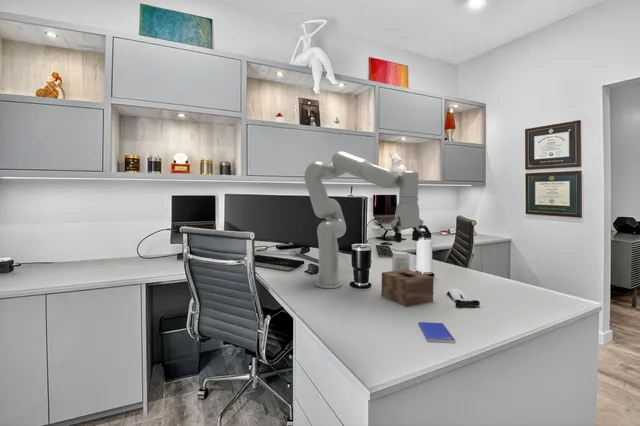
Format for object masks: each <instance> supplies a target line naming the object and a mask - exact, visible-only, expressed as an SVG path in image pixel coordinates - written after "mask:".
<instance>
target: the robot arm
mask: <svg viewBox="0 0 640 426" xmlns="http://www.w3.org/2000/svg"><path fill="white" fill-rule="evenodd" d="M346 173H347V174H349V175H352V176H355V178H359V179H361V180H364V181H366V182H368V183H371V184H373V185H376V186H378V187H381V188H383V189H391V190H392V189H394V190H395V189H399V190H398V191H399V193H398V195H399V197H398V203H397V204H396V208H395V215H394V219H393V220H392V221H390V226H391V229H392V230H393V233H394V242H395V243H402V231H403V229H412V235H411V237H412V238H411V240H412V241H415V242H419V240H420V232H421V229H422V227H423V225H424V220H423V219H421V218H420V208H419V203H418V202H419V182H420V181H419V177H420V176H419V175H420V174H419V172H418V171H416V170H404V171H397V170H391V169H387V168H384V167H382V166H378V165H376V164H373V163H371V162H370V161H369V160H368V159H366V158H363V157H359V156H357V155H354V154H352V153H350V152H347V151H343V150H339V151H336V152H334V153H333V155H332V156H331V161H330V162H327V161H323V160H322V161H321V160H317V161H316V160H315V161H312V162H310V164H308V166H307V167H306V169H305V171H304V183H305V187H306V188H307V192H308V194H309V195H308V196H309V199H310V203H311V206H312V209H313V212H314V214H315V216H316V217H317V218H320V219H325V220H323V221H321V222H320V223H319V224H318V226H317V229H316V235H317V240H318V274H317V275H316V276H317V278H318V280H317V281H315V286H316V287H318V288H320V289H337V288H340V287H342V285H343V284H342V282H341V280H339V260H340V259H339V256H340V255H339V244H338V238H339V239H340V238H341V237H343V236H344V235H345V233H346V231H347V225H346V221H345V217H344V215H343V214H344V213H343V212H342V211H343V210H342V207H341V205H340V203H339V202H338V201H337V199H335V198H330V197H329V196H328V192H327V189H326V186H325V185H324V183H323V182H322V180H334V179H335V178H338V177H339V176H342V175H344V174H346Z"/></svg>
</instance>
